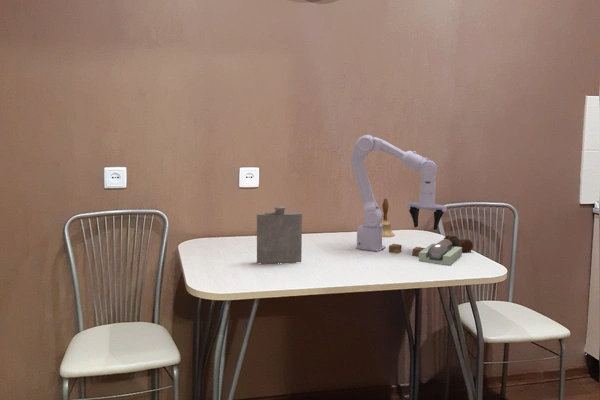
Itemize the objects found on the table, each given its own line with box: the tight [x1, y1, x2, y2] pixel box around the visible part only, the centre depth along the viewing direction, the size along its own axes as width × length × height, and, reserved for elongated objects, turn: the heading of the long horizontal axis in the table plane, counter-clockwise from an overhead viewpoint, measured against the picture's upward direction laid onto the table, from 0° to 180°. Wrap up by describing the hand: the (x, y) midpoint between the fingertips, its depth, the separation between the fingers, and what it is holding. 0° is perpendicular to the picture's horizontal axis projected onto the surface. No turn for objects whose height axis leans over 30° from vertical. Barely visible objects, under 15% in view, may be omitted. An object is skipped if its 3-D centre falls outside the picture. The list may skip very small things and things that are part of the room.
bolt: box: [443, 235, 474, 254], centre depth 225 cm, size 6×5×15 cm
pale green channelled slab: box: [418, 243, 463, 266], centre depth 210 cm, size 11×16×3 cm
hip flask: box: [256, 205, 303, 265], centre depth 200 cm, size 16×4×20 cm, turn 101°
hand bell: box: [380, 198, 395, 238], centre depth 246 cm, size 8×8×16 cm
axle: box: [428, 238, 454, 260], centre depth 209 cm, size 14×5×5 cm, turn 150°
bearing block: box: [388, 243, 426, 257], centre depth 216 cm, size 13×4×2 cm, turn 60°
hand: (425, 228), depth 217 cm, fingers open, 7 cm apart
